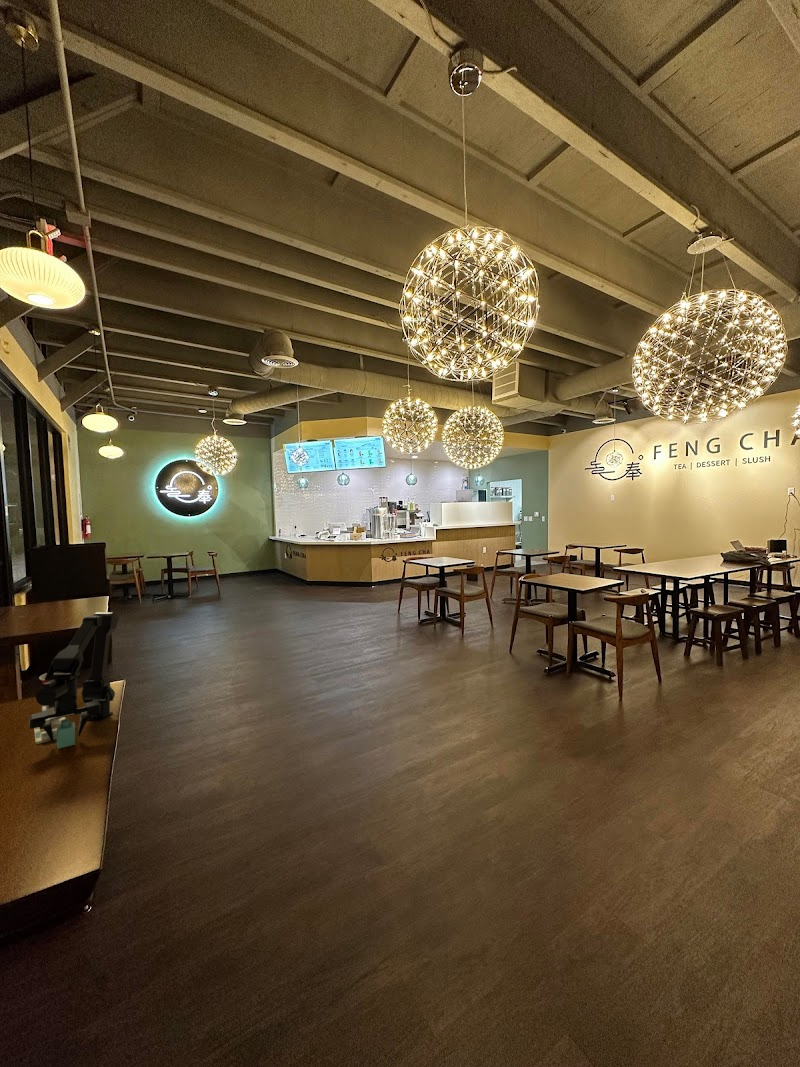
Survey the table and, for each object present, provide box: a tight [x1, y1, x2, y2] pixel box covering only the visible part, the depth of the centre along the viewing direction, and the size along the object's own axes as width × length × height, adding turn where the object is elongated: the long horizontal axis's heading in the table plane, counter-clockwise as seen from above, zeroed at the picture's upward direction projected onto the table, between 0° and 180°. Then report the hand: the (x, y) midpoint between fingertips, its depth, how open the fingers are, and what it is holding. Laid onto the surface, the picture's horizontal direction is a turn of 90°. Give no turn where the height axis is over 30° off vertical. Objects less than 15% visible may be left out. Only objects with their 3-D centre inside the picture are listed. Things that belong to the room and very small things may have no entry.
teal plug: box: [56, 718, 76, 749], centre depth 145 cm, size 4×4×8 cm
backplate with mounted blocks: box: [33, 717, 67, 745], centre depth 154 cm, size 9×19×3 cm, turn 42°
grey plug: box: [41, 705, 59, 721], centre depth 157 cm, size 4×4×8 cm
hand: (65, 739), depth 145 cm, fingers open, 7 cm apart
